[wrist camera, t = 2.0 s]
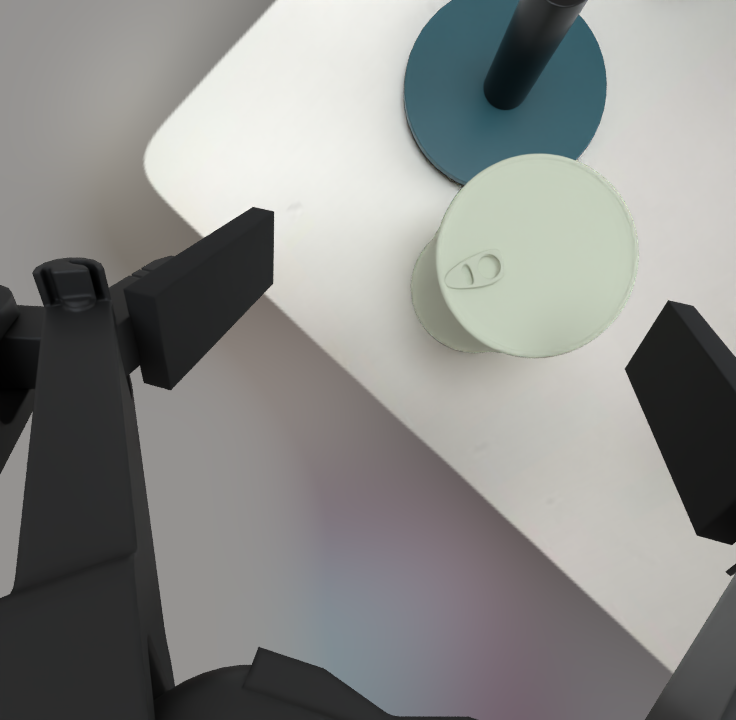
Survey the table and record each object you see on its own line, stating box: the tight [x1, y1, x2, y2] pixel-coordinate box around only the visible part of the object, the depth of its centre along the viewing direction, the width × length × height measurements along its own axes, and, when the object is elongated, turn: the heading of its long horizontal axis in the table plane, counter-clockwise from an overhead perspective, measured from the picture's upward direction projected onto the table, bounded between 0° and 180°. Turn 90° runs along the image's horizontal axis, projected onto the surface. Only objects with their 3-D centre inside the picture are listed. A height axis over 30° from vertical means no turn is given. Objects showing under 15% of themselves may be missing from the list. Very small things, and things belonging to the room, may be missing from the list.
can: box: [411, 154, 639, 358], centre depth 25 cm, size 9×9×12 cm
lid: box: [404, 0, 607, 185], centre depth 25 cm, size 14×14×10 cm
